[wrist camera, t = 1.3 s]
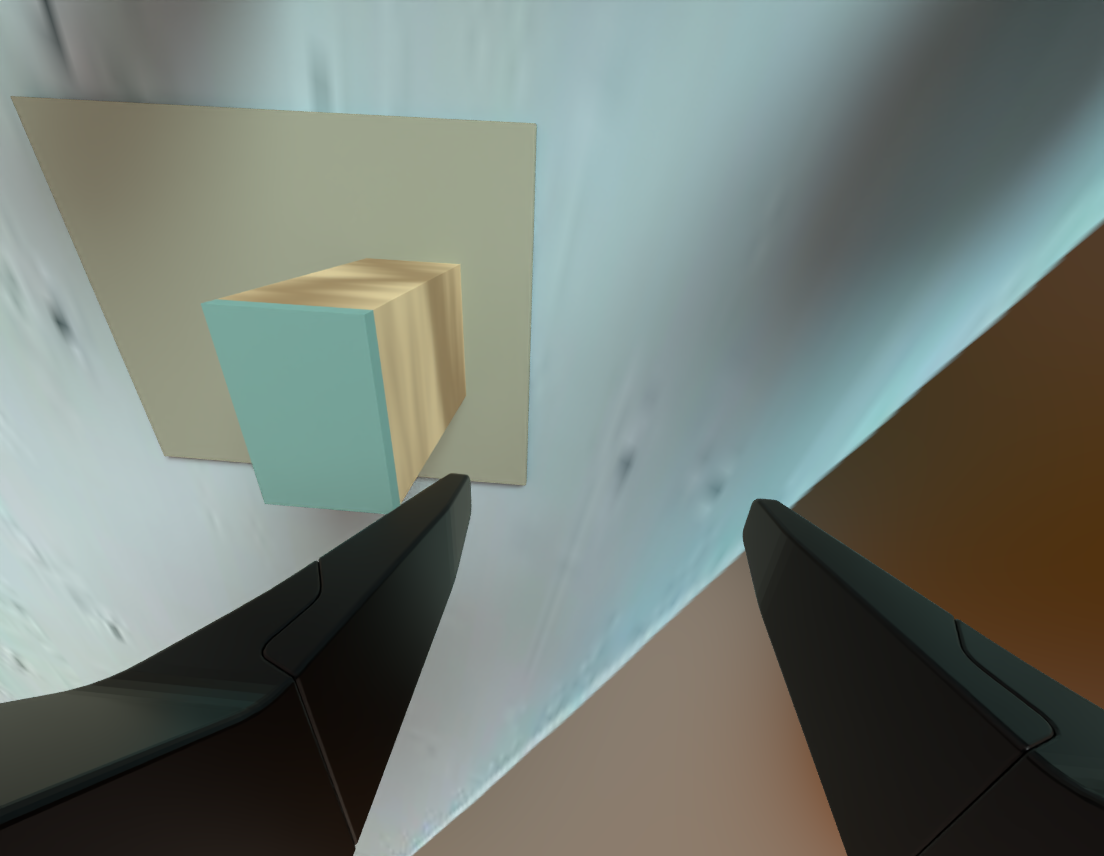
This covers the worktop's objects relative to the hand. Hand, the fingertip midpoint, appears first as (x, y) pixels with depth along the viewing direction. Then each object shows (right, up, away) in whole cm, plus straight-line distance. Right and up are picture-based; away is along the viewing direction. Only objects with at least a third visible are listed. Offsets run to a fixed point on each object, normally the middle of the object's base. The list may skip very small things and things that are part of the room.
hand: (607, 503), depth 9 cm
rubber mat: (-12, +7, +11) cm, 18 cm away
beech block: (-7, +6, +11) cm, 14 cm away
